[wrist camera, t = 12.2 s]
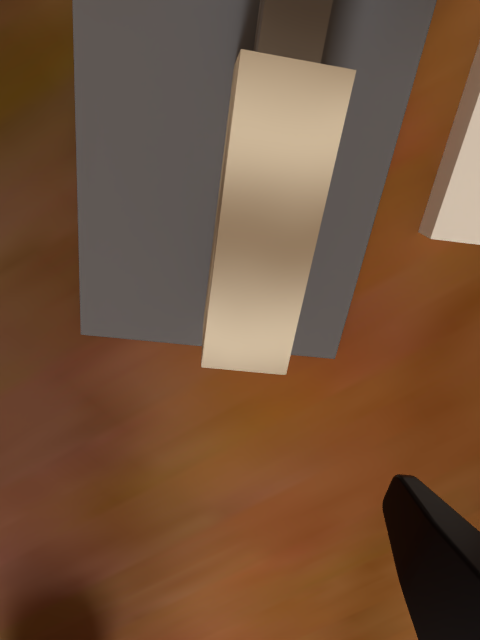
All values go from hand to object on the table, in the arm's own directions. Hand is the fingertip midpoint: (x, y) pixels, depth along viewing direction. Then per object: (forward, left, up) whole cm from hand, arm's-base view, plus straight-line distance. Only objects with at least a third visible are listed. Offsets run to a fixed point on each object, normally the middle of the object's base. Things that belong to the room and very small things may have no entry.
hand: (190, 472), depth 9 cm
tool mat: (+6, -1, -11) cm, 13 cm away
